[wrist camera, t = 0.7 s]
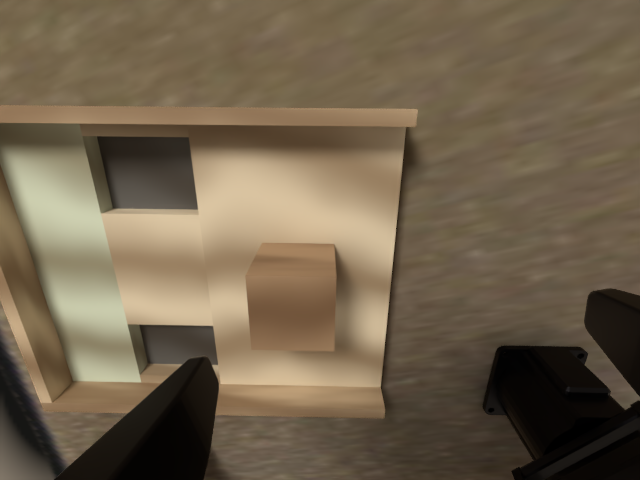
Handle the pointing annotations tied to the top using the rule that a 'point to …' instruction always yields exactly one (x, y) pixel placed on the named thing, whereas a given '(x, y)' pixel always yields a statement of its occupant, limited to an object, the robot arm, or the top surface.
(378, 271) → the box
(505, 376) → the robot arm
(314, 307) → the block
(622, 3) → the top surface
